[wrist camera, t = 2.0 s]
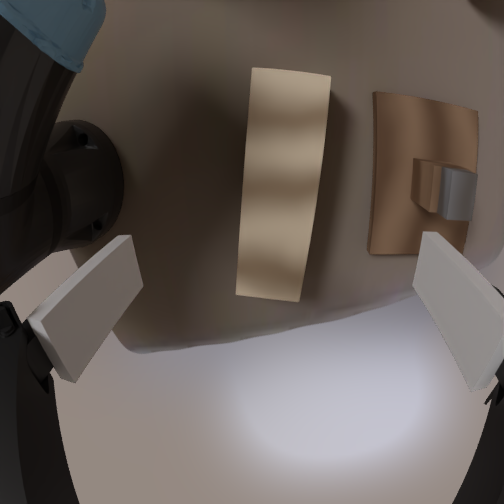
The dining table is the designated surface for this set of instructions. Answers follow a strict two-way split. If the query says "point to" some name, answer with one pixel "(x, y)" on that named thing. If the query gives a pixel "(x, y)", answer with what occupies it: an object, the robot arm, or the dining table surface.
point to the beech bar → (280, 180)
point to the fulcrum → (421, 172)
